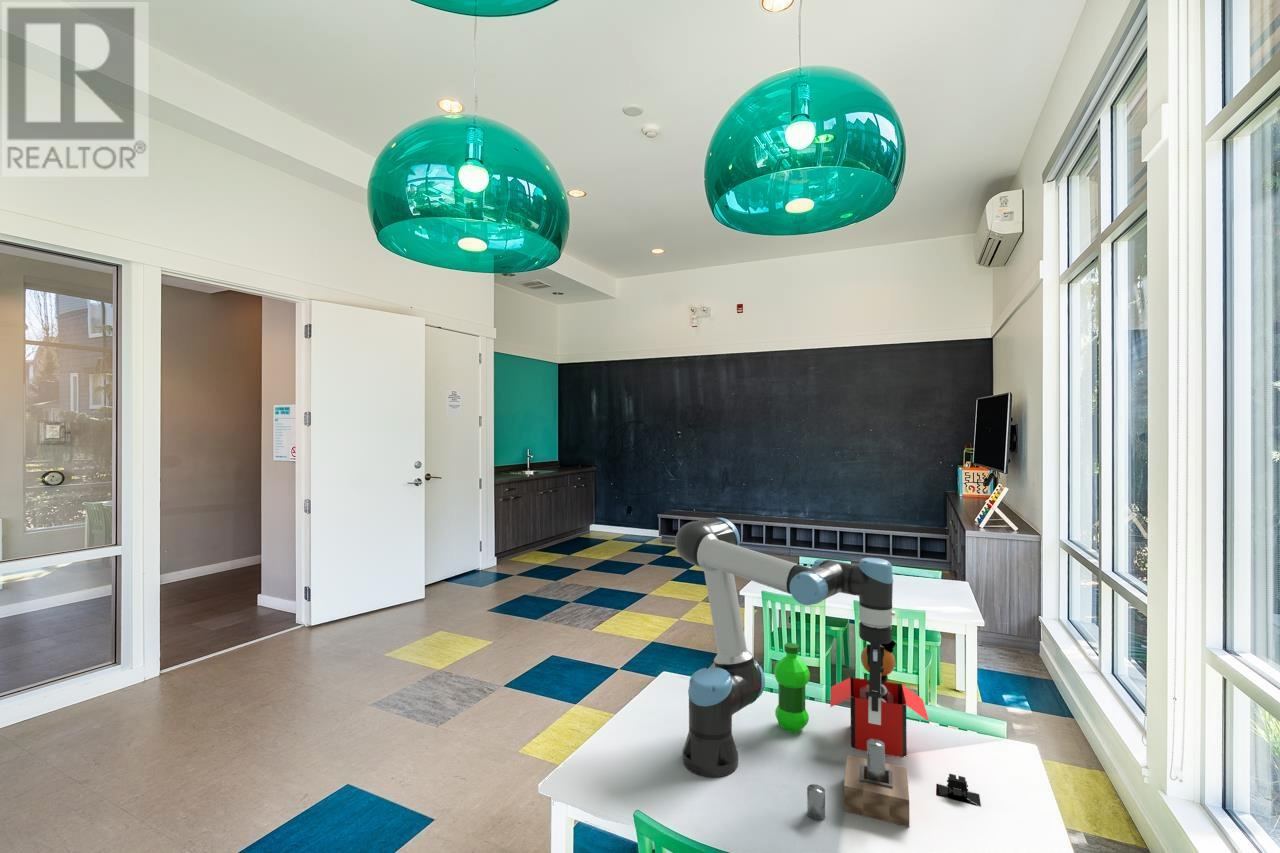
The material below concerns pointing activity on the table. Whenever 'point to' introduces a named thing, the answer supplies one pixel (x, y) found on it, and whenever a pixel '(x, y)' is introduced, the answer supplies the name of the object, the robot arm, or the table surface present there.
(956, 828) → the table surface
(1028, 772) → the table surface
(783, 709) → the plastic bottle
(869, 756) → the long pin
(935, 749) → the table surface
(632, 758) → the table surface
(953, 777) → the black notched mounting plate
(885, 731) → the jack-in-the-box
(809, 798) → the short pin
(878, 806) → the hole block
